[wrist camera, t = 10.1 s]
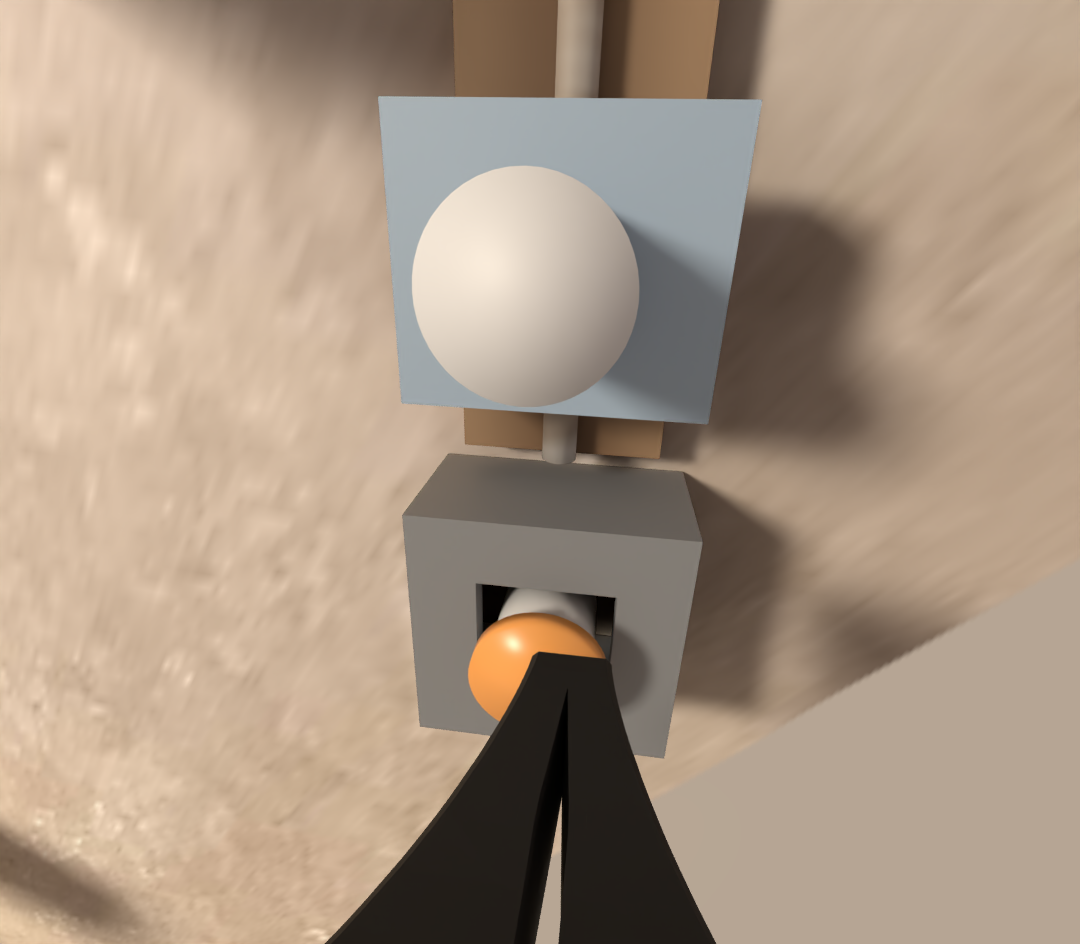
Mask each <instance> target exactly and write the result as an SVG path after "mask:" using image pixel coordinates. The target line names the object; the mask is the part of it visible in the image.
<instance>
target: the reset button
mask: <svg viewBox="0 0 1080 944" xmlns="http://www.w3.org/2000/svg"><path fill="white" fill-rule="evenodd" d="M596 605H597V601H596V596H595V595H586V594H576V593H566V592H556V591H547V590H537V589H527V588H517V587H508V589H507V592H506V595H505V599H504V602H503V605H502V609H501V612H500V615H499V618H498V621H497V622H495V623H493V624H492V625H491V626H489V627H488V628H487V629H486V630H485V631H484V632H483V633H482V634H481V636H480V638H479V639H478V641H477V643H476V646H475V649H474V651H473V654H472V657H471V660H470V664H469V668H468V679H469V684H470V688H471V691H472V693H473V695H474V697H475V698H476V700H477V702H478V703H479V704H480V705H481V707H482V708H483V709H484V710H485V711H486V712H487V713H488V714H490V715H491V716H492V717H493V718H495V719H496V720H498V721H500V720H501V718H502V717H503V715H504V713H505V712H506V710H507V708H508V706H509V704H510V702H511V701H512V699H513V697H514V695H515V693H516V691H517V689H518V687H519V686H520V684H521V681H522V679H523V677H524V675H525V673H526V671H527V668H528V666H529V663H530V661H531V658H532V656H533V655H534V654H536V653H537V652H539V651H540V652H549V653H558V654H567V655H576V656H586V657H595V658H604V659H606V658H605V654H604V652H603V650H602V648H601V647H600V645H599V644H598V642H597V641H596V640H595V626H596Z"/></svg>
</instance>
